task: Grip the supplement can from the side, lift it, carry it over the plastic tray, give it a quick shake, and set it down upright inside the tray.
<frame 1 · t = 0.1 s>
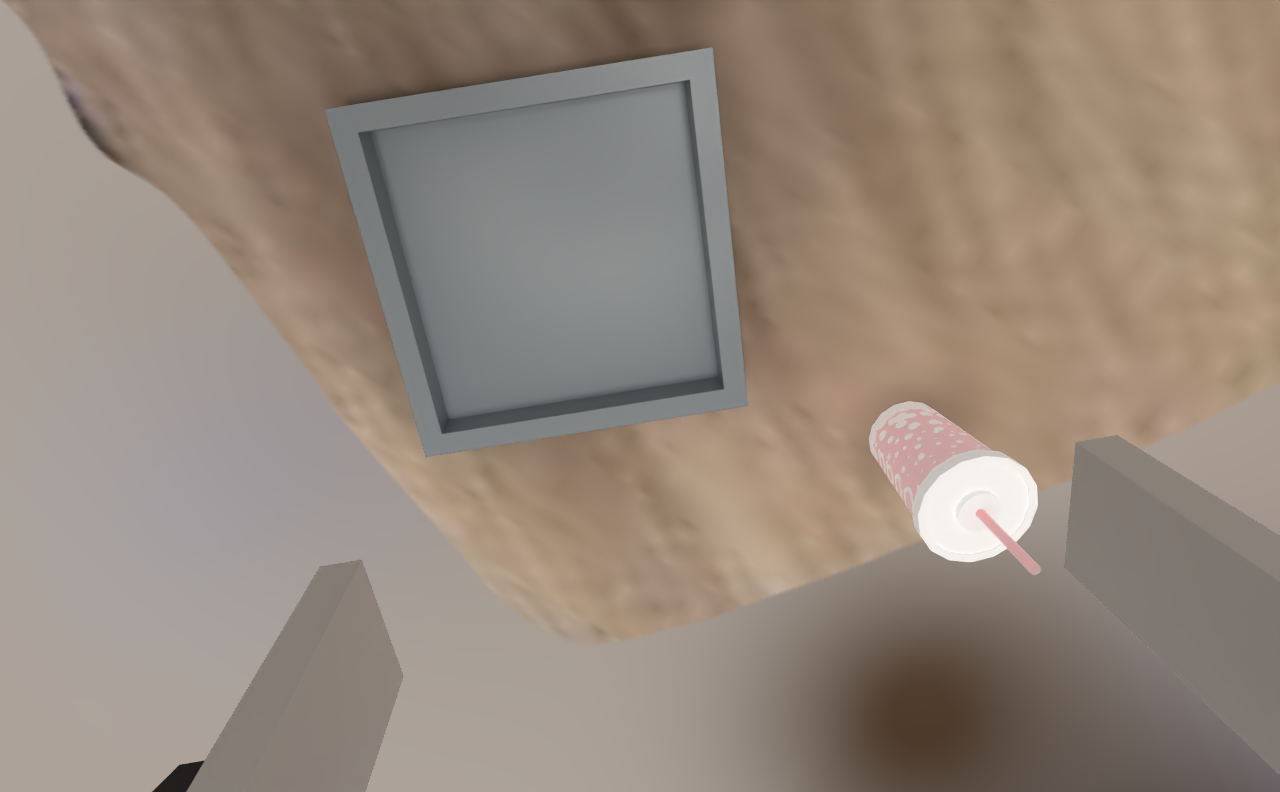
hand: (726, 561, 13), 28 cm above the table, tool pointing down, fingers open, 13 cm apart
tray: (558, 260, 39), on the table
beverage cup: (904, 434, 44), on the table
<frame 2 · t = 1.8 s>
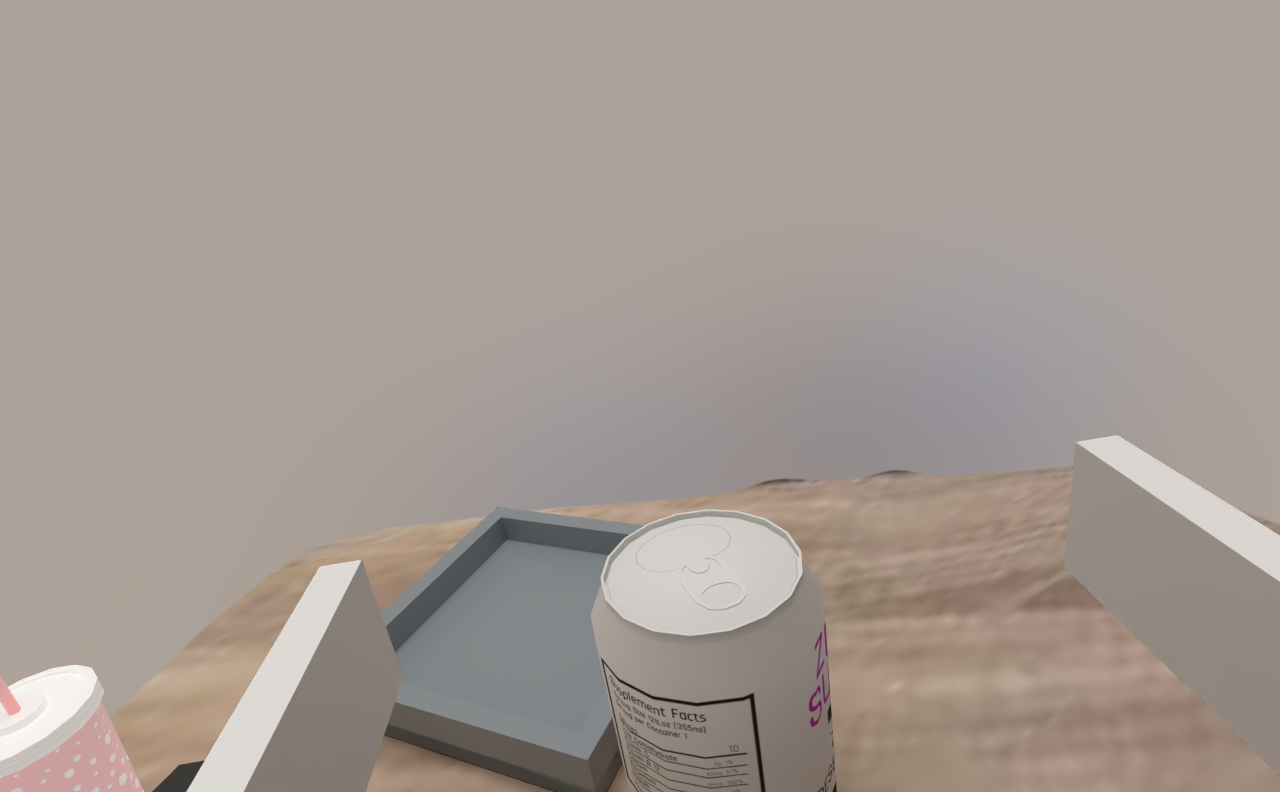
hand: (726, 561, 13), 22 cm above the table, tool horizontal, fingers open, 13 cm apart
tray: (540, 639, 45), on the table
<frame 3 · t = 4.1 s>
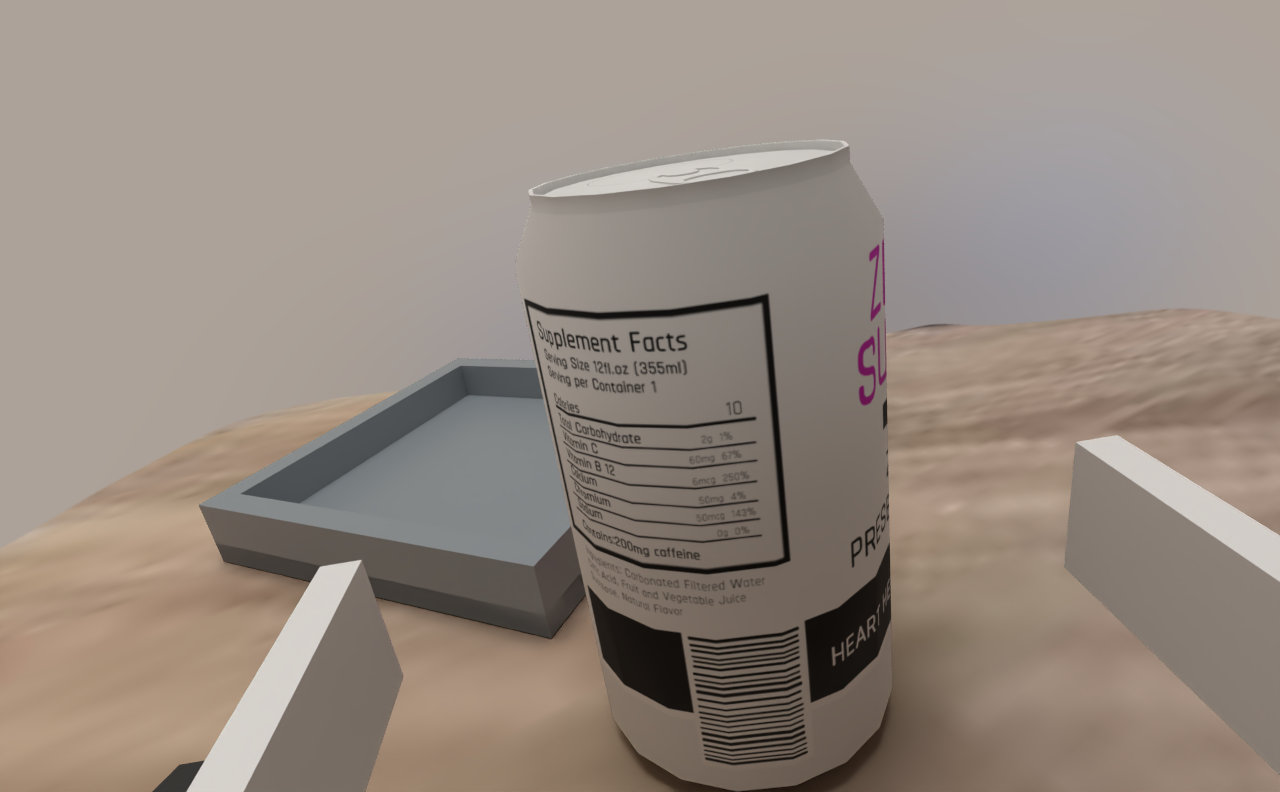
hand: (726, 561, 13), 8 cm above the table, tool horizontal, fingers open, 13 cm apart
tray: (497, 481, 36), on the table
supplement can: (747, 690, 21), on the table
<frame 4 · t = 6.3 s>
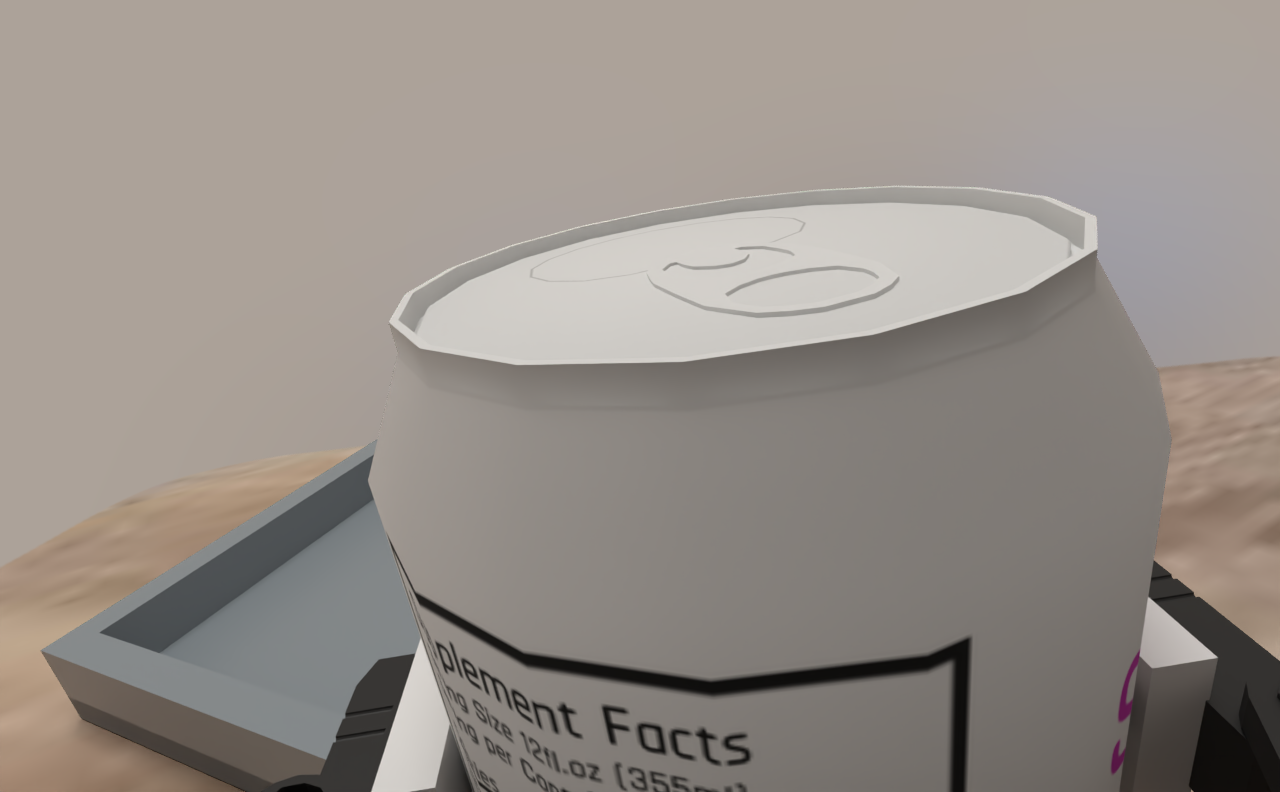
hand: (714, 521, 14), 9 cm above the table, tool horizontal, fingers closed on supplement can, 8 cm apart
tray: (450, 596, 28), on the table
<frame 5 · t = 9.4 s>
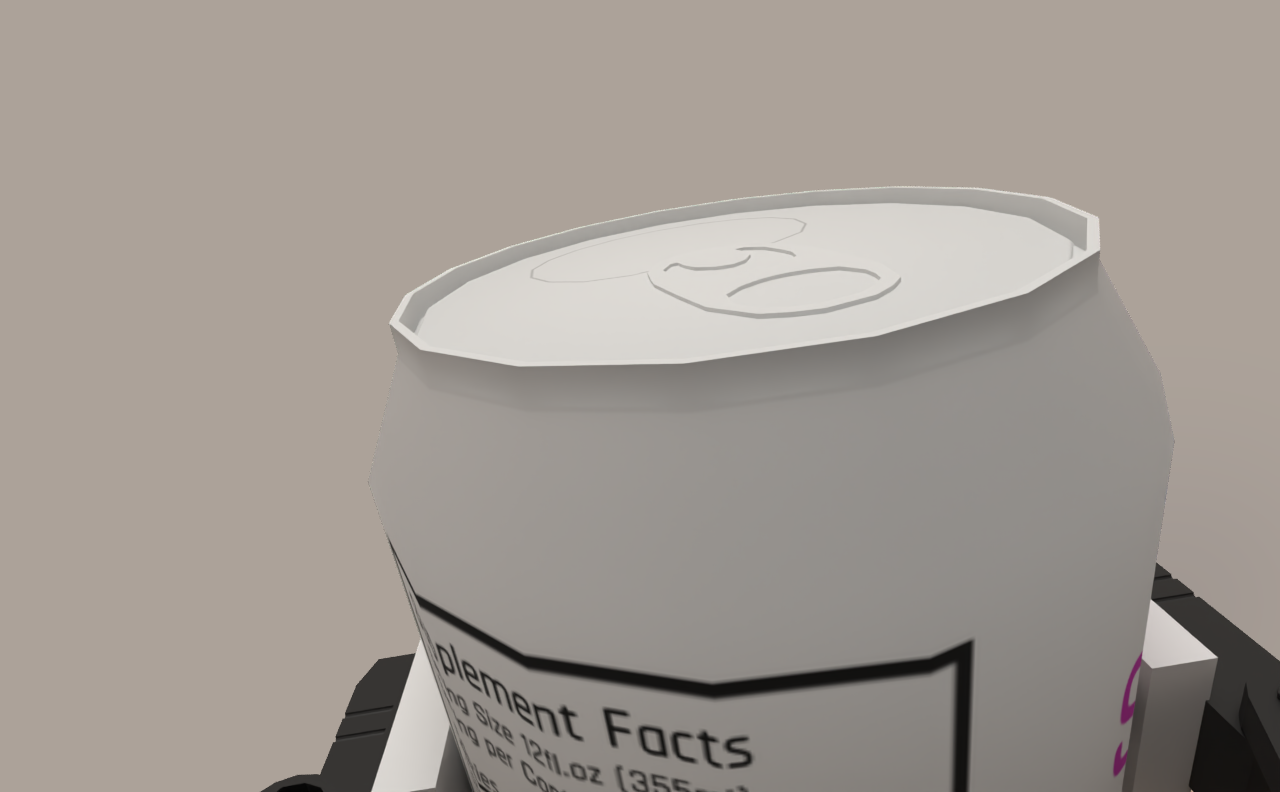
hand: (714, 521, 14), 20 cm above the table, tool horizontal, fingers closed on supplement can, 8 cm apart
when the fingers open (11 cm above the table, at t = 12.7 s): supplement can drops 1 cm, resting on tray.
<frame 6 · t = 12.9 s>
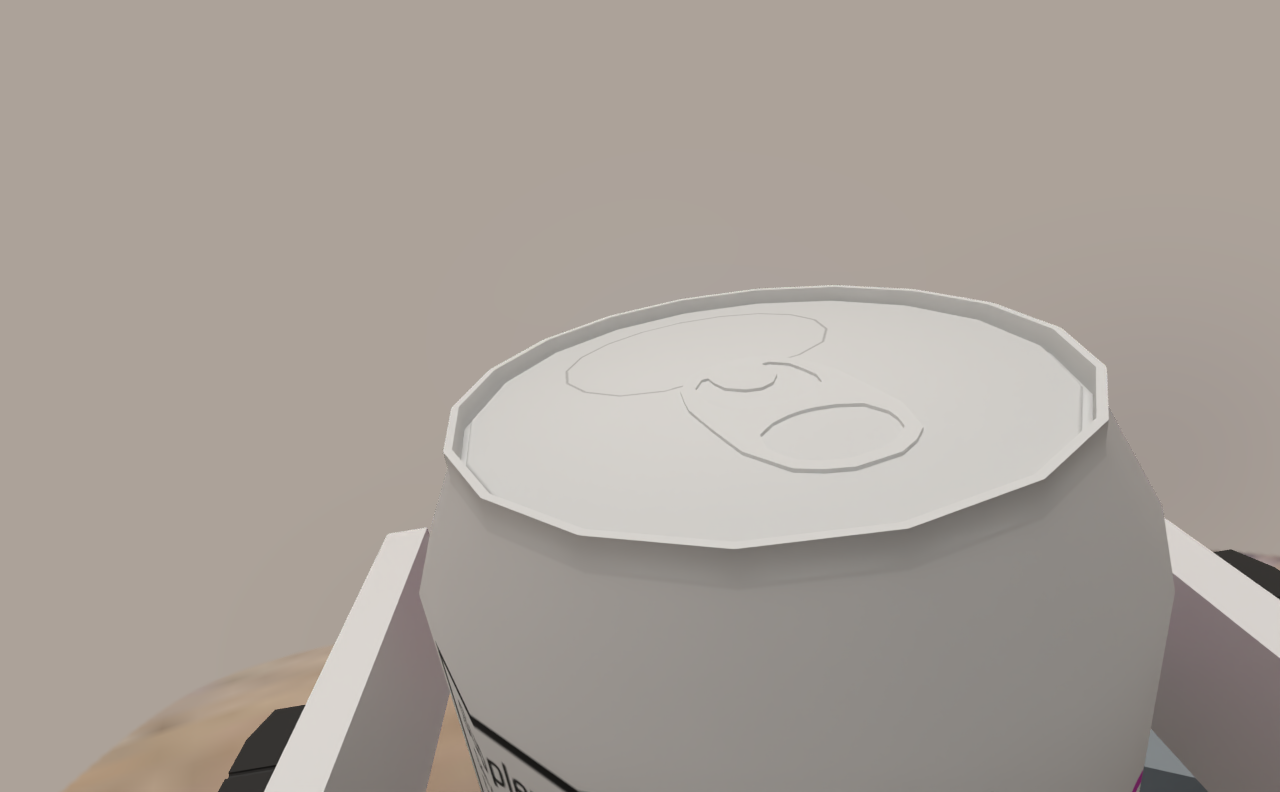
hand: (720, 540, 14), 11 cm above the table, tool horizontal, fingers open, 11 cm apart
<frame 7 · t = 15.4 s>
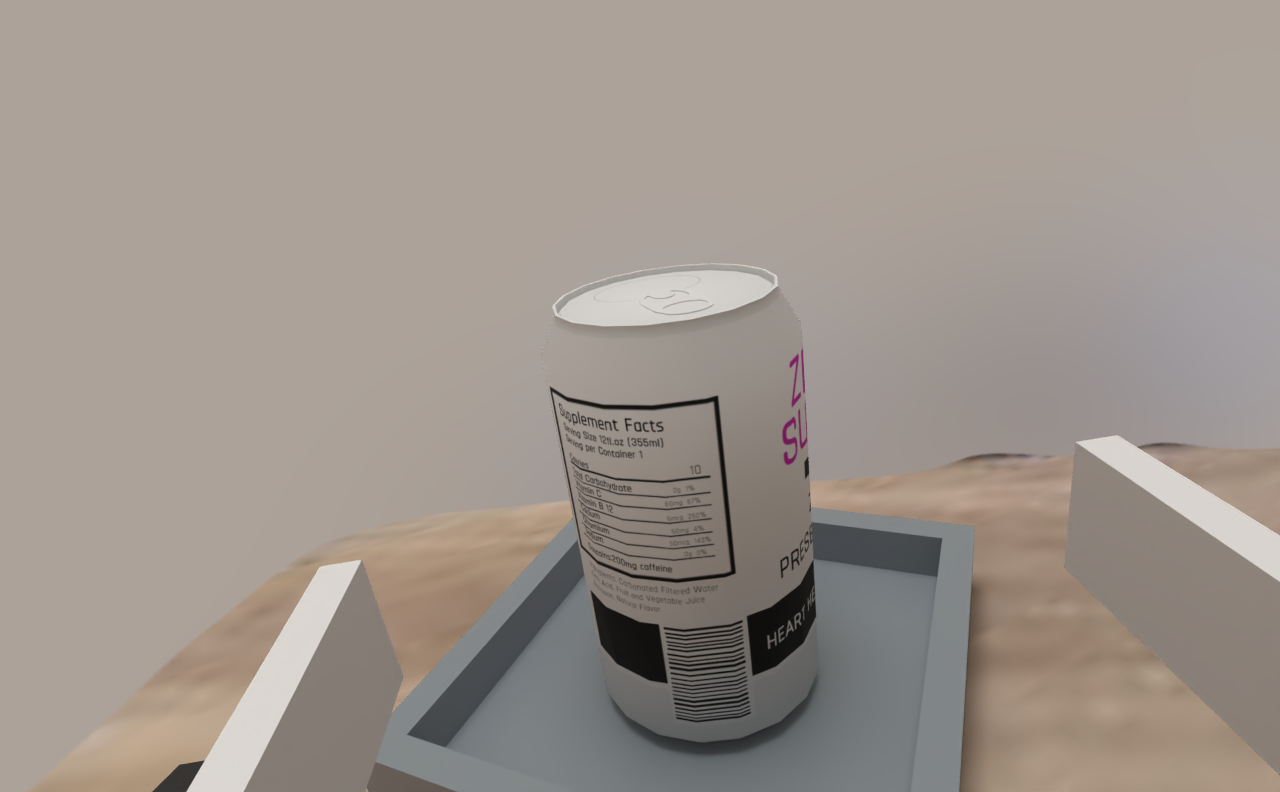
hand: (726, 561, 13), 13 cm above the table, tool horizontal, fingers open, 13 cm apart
tray: (711, 686, 28), on the table
supplement can: (711, 671, 28), point 1 cm above the table, touching tray
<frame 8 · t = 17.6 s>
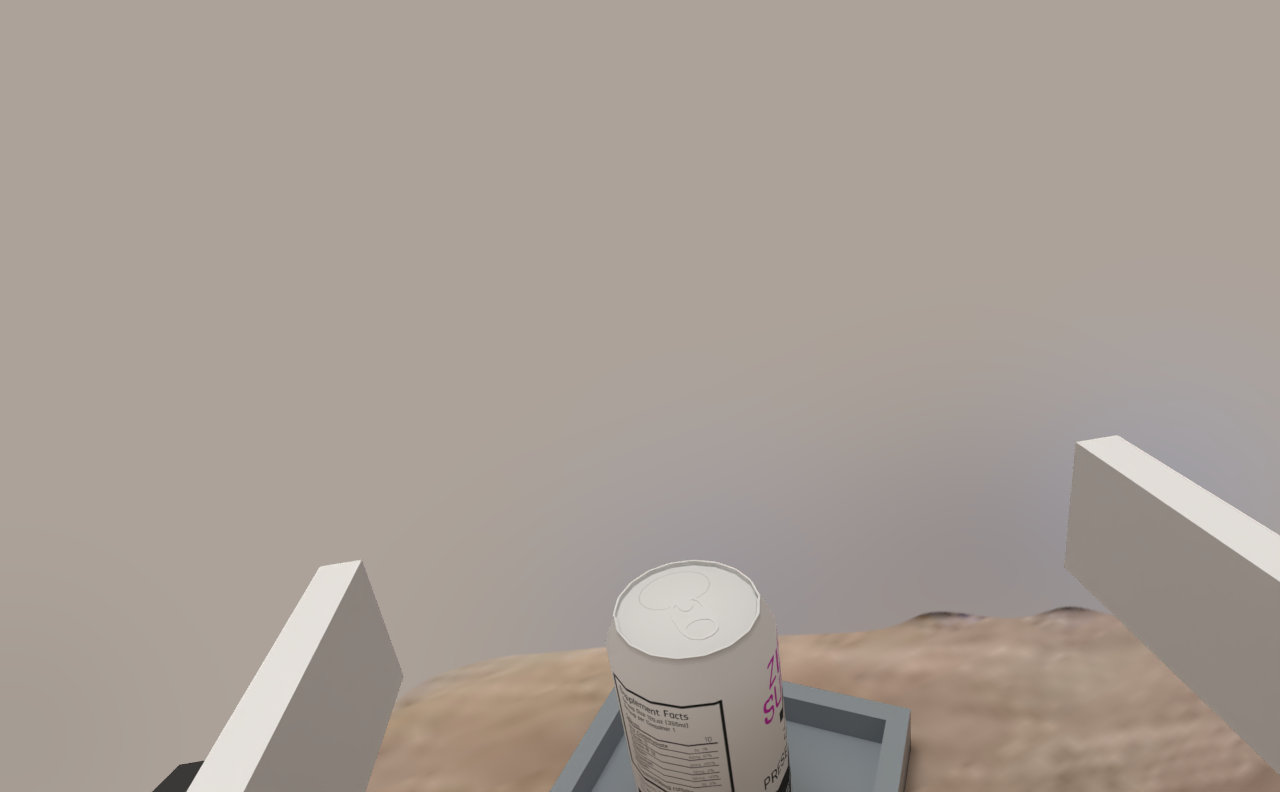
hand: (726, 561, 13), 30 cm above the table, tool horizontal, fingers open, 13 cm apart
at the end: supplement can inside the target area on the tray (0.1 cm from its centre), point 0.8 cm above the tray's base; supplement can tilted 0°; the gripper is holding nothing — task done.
